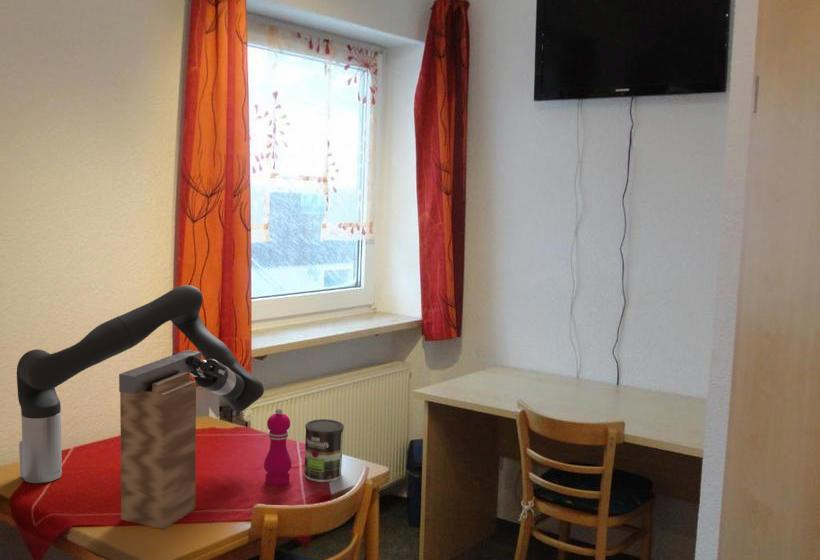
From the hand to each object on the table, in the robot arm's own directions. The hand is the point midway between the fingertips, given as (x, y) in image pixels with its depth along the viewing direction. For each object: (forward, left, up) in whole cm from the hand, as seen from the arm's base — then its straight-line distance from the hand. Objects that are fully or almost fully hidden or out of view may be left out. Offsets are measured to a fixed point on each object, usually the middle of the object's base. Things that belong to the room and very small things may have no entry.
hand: (181, 358), depth 198 cm
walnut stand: (0, -9, -36) cm, 37 cm away
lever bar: (0, -7, -3) cm, 8 cm away
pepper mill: (+15, +21, -36) cm, 45 cm away
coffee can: (+24, +30, -36) cm, 53 cm away
